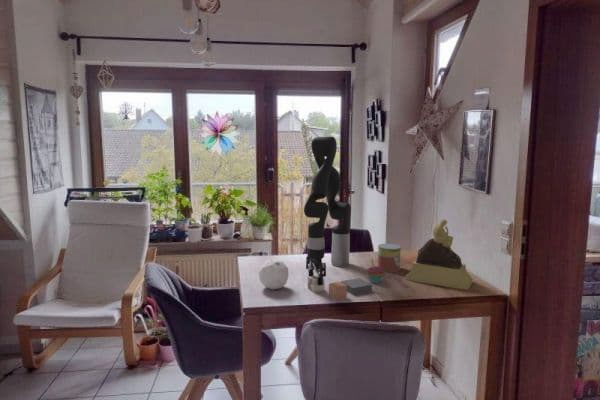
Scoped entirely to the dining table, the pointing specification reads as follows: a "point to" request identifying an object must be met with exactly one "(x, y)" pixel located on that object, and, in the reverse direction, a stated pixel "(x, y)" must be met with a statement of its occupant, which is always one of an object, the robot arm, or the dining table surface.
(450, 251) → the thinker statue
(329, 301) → the dining table surface
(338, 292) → the terracotta cube
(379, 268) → the cupcake
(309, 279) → the cream cube
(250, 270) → the dining table surface
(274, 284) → the geodesic sphere
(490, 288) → the dining table surface
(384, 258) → the canned food
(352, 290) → the plinth
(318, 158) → the robot arm
